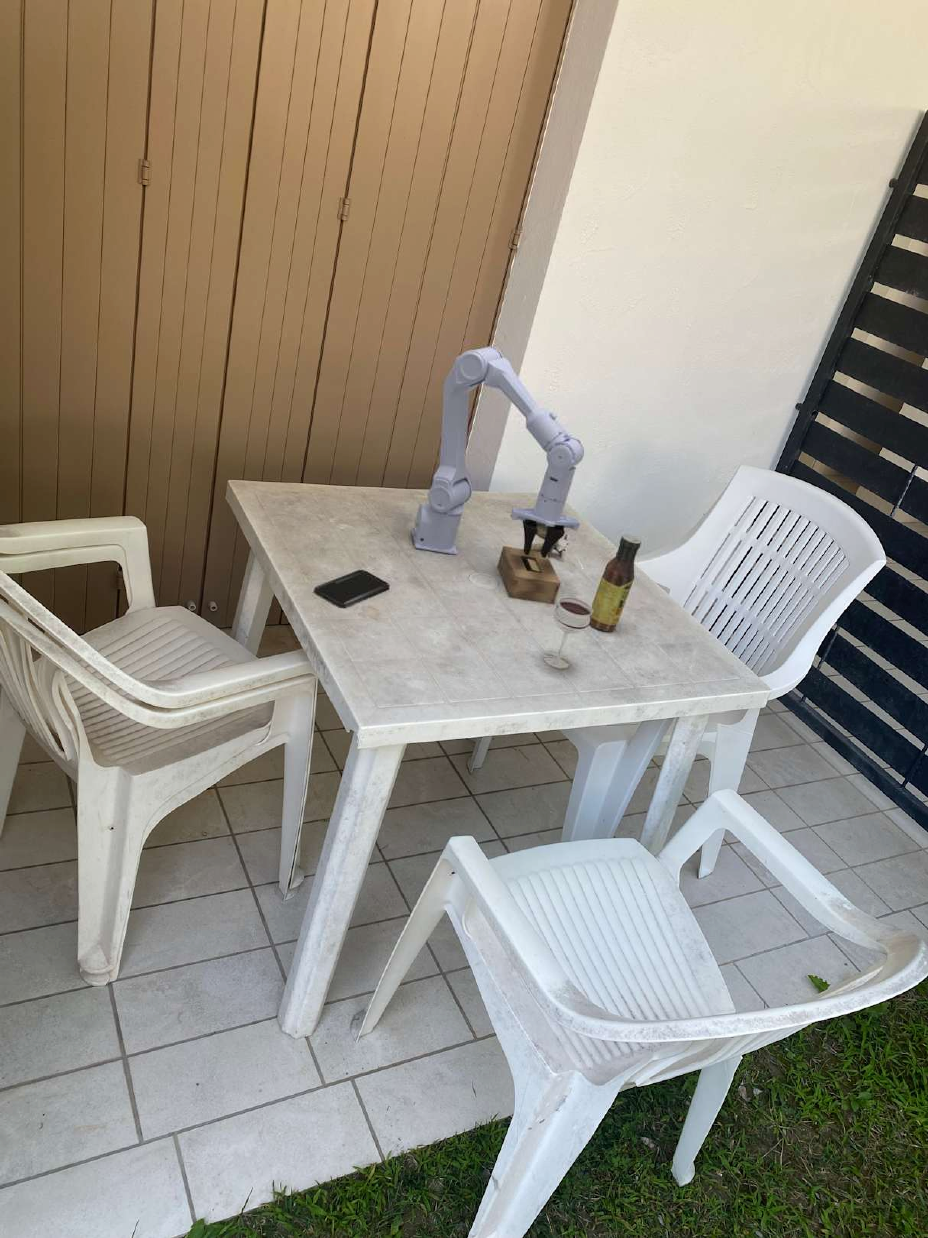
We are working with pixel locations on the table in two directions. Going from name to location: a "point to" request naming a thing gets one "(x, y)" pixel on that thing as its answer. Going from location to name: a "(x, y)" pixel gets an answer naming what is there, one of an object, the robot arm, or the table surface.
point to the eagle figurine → (541, 532)
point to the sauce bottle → (615, 585)
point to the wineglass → (568, 624)
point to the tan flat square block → (532, 566)
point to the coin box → (528, 576)
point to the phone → (351, 588)
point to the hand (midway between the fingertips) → (534, 554)
